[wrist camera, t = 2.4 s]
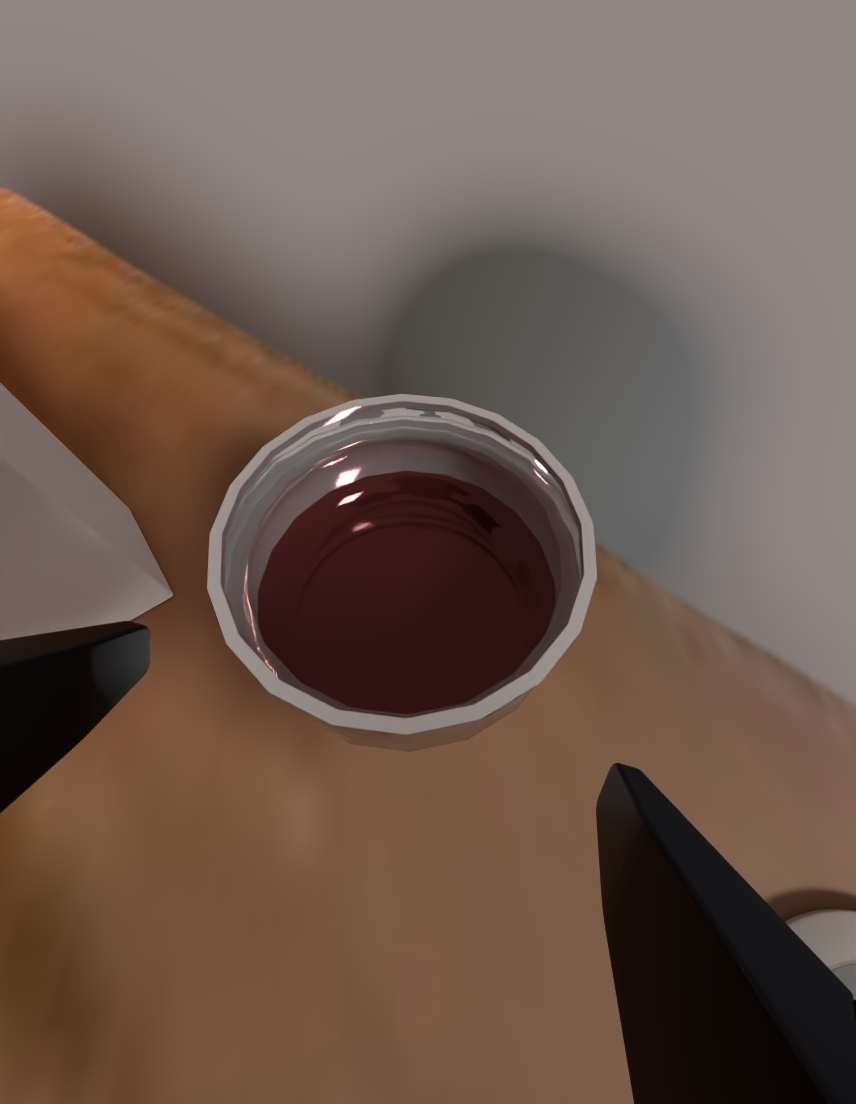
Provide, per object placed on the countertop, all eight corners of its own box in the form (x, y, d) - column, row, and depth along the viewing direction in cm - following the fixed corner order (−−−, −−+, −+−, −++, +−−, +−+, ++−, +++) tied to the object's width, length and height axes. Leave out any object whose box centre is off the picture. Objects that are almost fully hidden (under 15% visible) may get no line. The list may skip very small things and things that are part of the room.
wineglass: (357, 803, 16) (234, 823, 6) (314, 634, 19) (182, 438, 9) (524, 735, 17) (685, 642, 7) (459, 586, 20) (499, 362, 10)
